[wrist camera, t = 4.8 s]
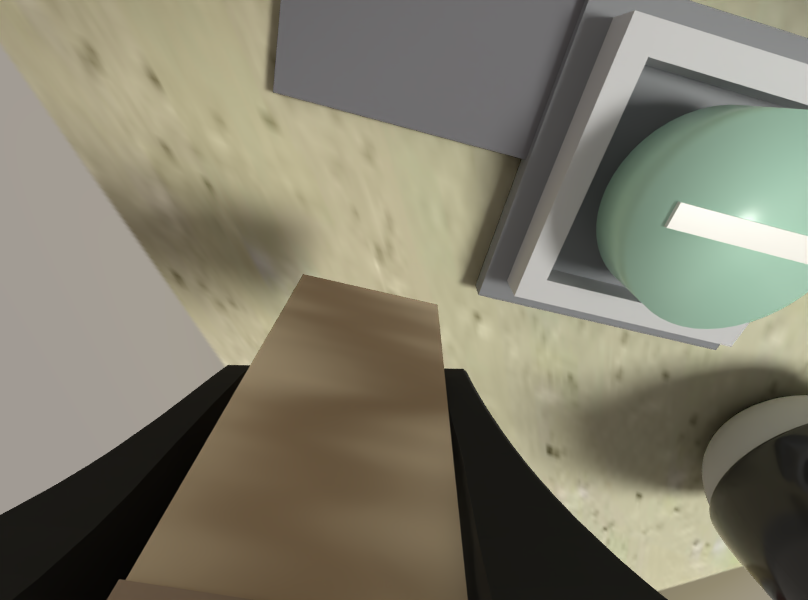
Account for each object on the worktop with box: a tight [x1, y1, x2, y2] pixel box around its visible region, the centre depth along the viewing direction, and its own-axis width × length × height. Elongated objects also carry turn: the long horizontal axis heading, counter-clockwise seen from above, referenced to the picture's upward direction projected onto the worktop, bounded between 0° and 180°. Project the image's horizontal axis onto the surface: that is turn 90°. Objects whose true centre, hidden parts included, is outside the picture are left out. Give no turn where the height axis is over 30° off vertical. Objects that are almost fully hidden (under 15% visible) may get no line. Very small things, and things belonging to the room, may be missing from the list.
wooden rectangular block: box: [107, 274, 468, 600], centre depth 9 cm, size 4×4×9 cm
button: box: [596, 105, 808, 329], centre depth 14 cm, size 7×7×3 cm
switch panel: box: [476, 0, 808, 350], centre depth 16 cm, size 12×12×2 cm
